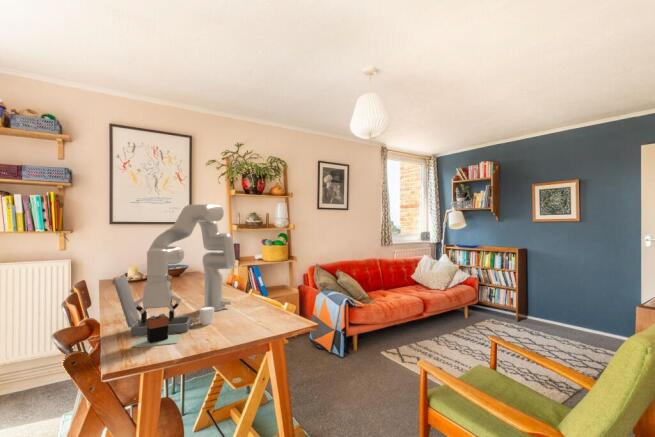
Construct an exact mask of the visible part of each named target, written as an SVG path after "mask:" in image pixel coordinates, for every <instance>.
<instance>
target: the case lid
mask: <svg viewBox="0 0 655 437" xmlns="http://www.w3.org/2000/svg"><path fill="white" fill-rule="evenodd" d="M113 284H114V287H115V290H116V294H117V297H118V299H119V303H120V306H121V309H122V312H123V315H124V317H125V318H124V319H125V321H126V324H127V327H128V329H129V328H130V329H131V327H132V326H131V325H132V324H135V322H134V320H133V319H132V317H131V315H130V313H129V312H128V311H129V310H130V311H131V313H132V315H133V316H134V318H135V320H136V322H138V319H139V318H140V315H139V311H138V310H137V309H136V307H135V306H134V304H133V303H134V302H135V300H134V296H133V294H132V291H131V287H130V284H129V281H128V278H127V276H126V275H122V276H121V277H118V278H116V279H114V280H113Z"/></svg>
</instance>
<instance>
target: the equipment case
mask: <svg viewBox="0 0 655 437" xmlns="http://www.w3.org/2000/svg"><path fill="white" fill-rule="evenodd" d="M128 312H129V313H130V315H131V317H132V319H133V320H134V322H135V324H132V325H131V326H132V327H130V332H131V333H130V337H144V336H147V321H146V322H145V323H143V321H141V317H139V319H138V321H137V322H136V320H135V318H134V316H133V315H132V313H131V311H130V310H129V311H128ZM191 325H192V316H191V315H190V316H189V315H187V316H174V318H173V319H172V321H169V317H168V334H176V333H187V332H188V331H189V329H190V328H191Z"/></svg>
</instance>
